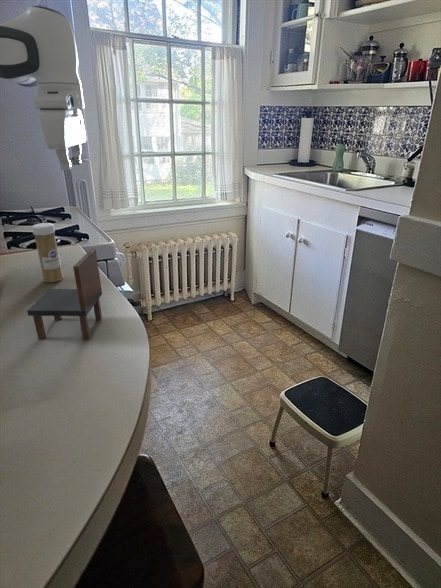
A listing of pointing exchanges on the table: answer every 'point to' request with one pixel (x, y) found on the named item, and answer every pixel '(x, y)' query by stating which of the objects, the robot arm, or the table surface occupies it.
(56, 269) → the sprinkles bottle
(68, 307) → the chair
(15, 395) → the table surface
